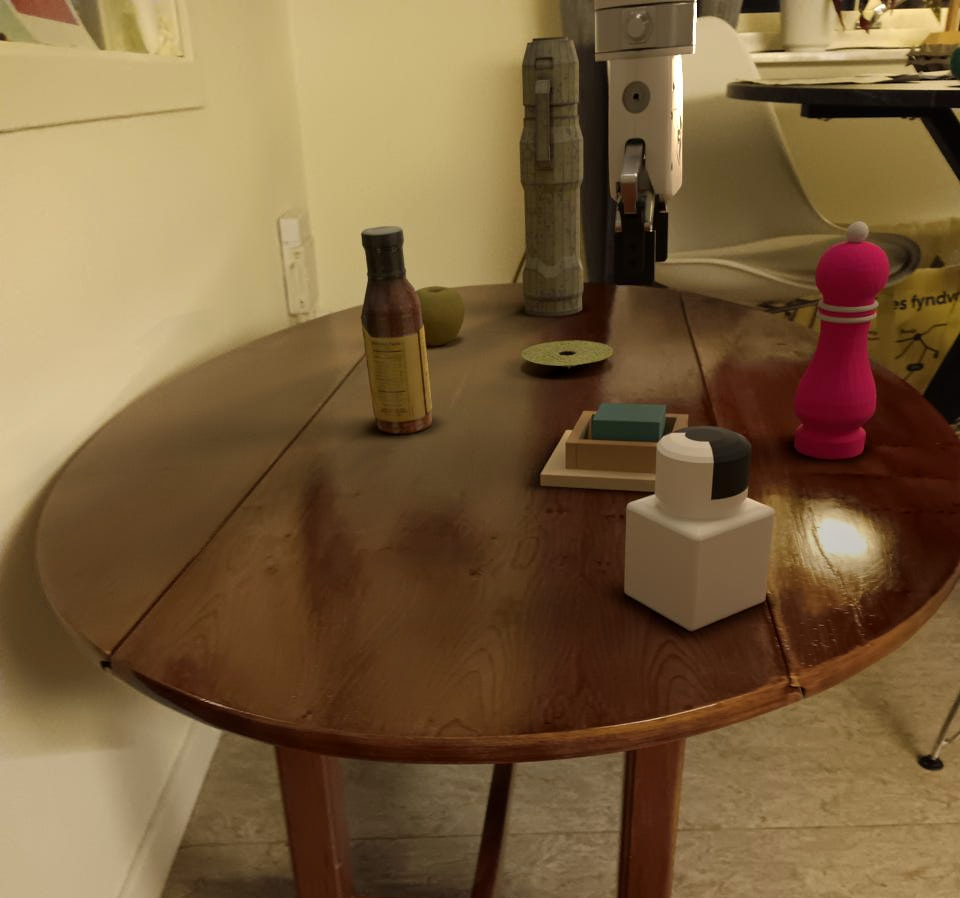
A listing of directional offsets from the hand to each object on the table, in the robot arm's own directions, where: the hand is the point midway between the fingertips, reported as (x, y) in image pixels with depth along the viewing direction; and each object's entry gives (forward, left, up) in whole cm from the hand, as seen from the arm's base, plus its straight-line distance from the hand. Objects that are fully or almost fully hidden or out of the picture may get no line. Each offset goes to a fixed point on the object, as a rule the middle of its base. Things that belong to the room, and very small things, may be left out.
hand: (642, 272), depth 83 cm
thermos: (+21, -62, -17) cm, 68 cm away
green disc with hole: (+13, -32, -17) cm, 38 cm away
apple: (+33, -42, -17) cm, 56 cm away
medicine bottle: (-7, +25, -17) cm, 31 cm away
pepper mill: (-17, -7, -17) cm, 25 cm away
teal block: (+1, 0, -16) cm, 16 cm away
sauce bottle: (+26, -8, -17) cm, 32 cm away
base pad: (+1, 0, -17) cm, 17 cm away
